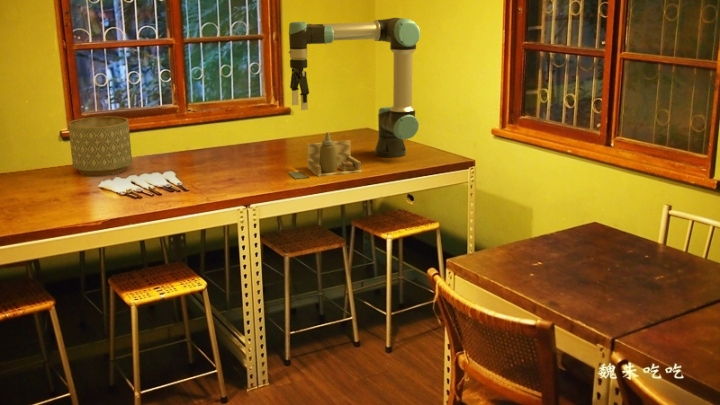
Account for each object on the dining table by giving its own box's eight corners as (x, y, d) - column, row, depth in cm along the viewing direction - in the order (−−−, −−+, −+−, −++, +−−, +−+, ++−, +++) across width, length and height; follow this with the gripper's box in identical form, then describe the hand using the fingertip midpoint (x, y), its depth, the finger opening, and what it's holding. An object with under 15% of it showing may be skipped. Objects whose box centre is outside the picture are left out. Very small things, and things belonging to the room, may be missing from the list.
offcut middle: (349, 167, 357) (349, 163, 356) (354, 169, 352) (354, 166, 351) (338, 168, 355) (338, 165, 354) (343, 171, 350) (343, 167, 349)
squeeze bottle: (335, 175, 346) (334, 134, 341) (317, 174, 347) (316, 134, 342) (339, 171, 353) (338, 131, 348) (321, 170, 355) (320, 130, 350)
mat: (308, 171, 353) (308, 170, 353) (316, 177, 343) (316, 176, 343) (288, 173, 350) (288, 172, 349) (295, 179, 340) (295, 178, 340)
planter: (63, 170, 357) (57, 122, 351) (113, 161, 375) (109, 114, 368) (91, 180, 340) (86, 129, 334) (143, 169, 358) (139, 120, 352)
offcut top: (350, 164, 355) (350, 161, 355) (353, 166, 351) (352, 163, 350) (341, 164, 355) (341, 161, 354) (344, 167, 350) (344, 164, 349)
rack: (349, 166, 362) (349, 140, 359) (362, 174, 348) (362, 147, 344) (307, 170, 355) (307, 143, 352) (319, 178, 341) (318, 151, 337)
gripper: (282, 56, 352) (283, 103, 358) (298, 62, 330) (300, 112, 336) (298, 55, 355) (299, 102, 361) (315, 61, 333) (316, 111, 338)
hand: (299, 107), depth 348 cm, fingers open, 13 cm apart
